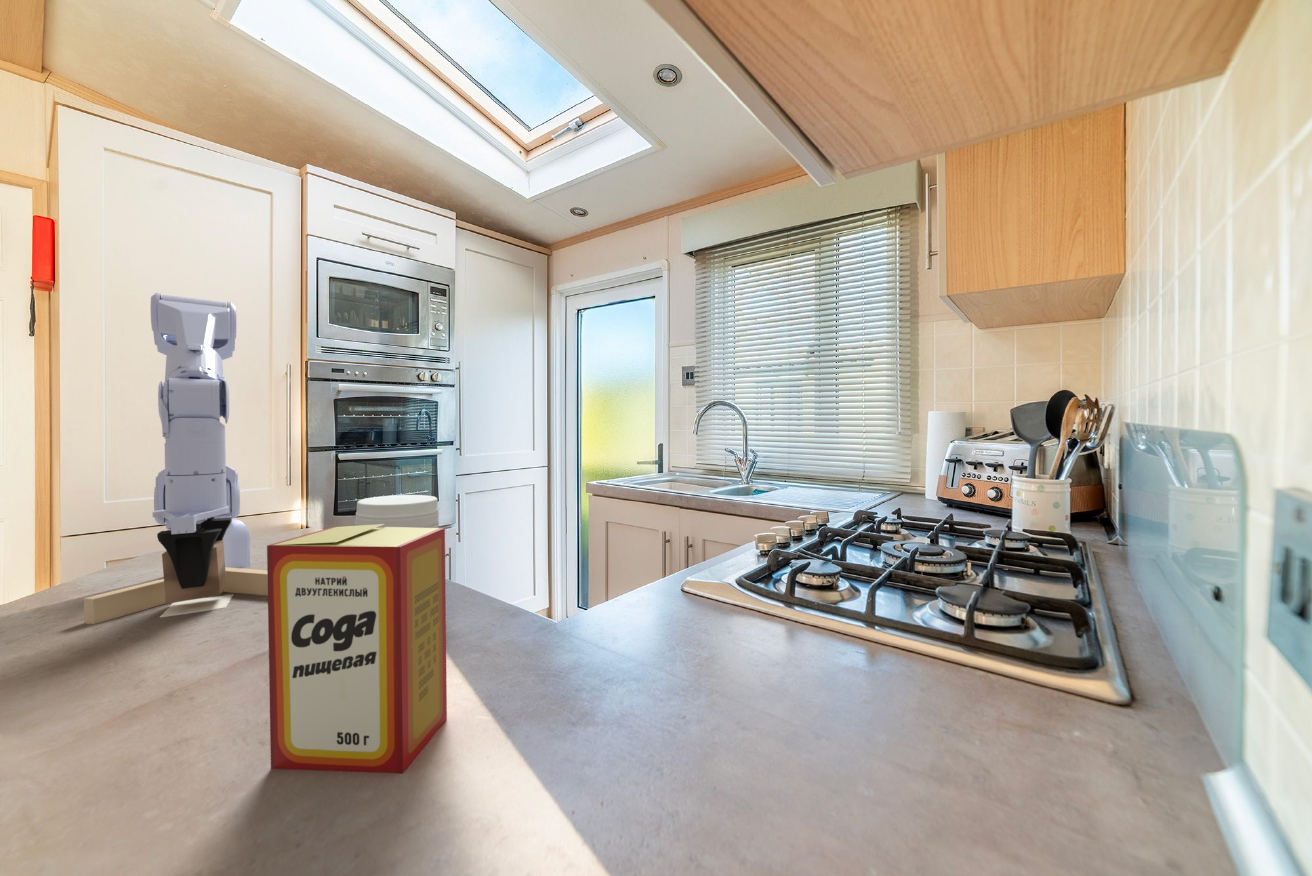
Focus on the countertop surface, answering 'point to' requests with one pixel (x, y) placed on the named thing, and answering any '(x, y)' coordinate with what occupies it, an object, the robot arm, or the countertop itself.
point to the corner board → (154, 595)
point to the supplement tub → (398, 511)
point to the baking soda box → (356, 647)
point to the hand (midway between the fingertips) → (198, 581)
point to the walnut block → (211, 587)
